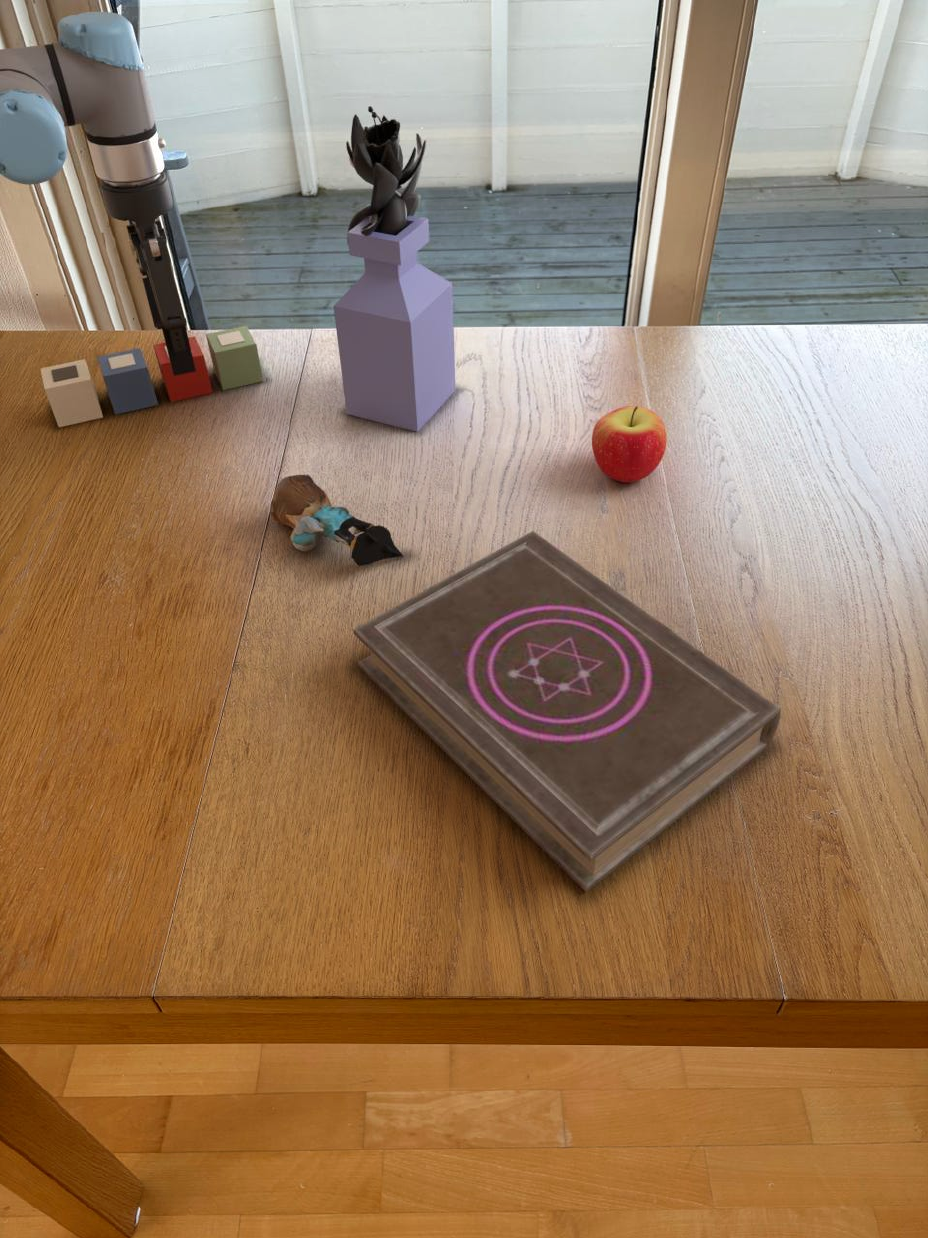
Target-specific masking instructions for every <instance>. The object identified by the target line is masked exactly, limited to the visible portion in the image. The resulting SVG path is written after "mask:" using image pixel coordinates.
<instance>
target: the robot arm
mask: <svg viewBox="0 0 928 1238" xmlns="http://www.w3.org/2000/svg"><path fill="white" fill-rule="evenodd" d="M57 33H58V36H57V39H58V41H54V42H51V43H49V44H42V45H41V44H40V45H30V46H22V47H21V46H20V47H11V48H1V49H0V175H1V176H2V177H4V178H5V179H7V180H9V181H12V182H14V183H16V184H17V183H18V184H21V185H30V186H31V185H39V184H44V183H46V182H48V181H50V180H52V179H53V178H54V177H55V176H57V175H58V174H59V172H60V171H61V170H62V168H63V166H64V164H65V162H66V160H67V157H68V155H67V154H68V142H67V141H68V140H67V130H66V127H73V126H77V125H83V128H84V132H85V136H86V142H87V146H88V150H89V154H90V157H91V161H92V164H93V169H94V173H95V175H96V176H97V178H99V179H100V181H99V189H100V192H101V196H102V199H103V203H104V207H105V211H106V213H107V215H108V216H110V217H111V218H113V219H115V220H118V221H122V222H128V225H125V227H126V232H127V235H128V238H129V240H130V242H131V245H132V248H133V251H134V252H135V256H136V259H135V261H136V264H137V265H138V267H139V273H140V274H141V275H142V279H141V280H142V283H143V288H144V290H145V296H146V299H147V302H148V307H149V311H150V315H151V319H152V322H153V326H154V328H155V329H156V330H161V331H162V335H163V339H164V343H166V347H167V351H168V355H169V359H170V363H171V367H172V371H173V374H174V376H176V375H181V374H186V373H191V372H196V369H195V365H194V360H193V356H192V352H191V347H190V343H189V339H188V338H189V335H188V331H187V324H188V321H187V317H185V314H184V311H183V307H182V302H181V298H180V295H179V292H178V289H177V285H176V281H175V278H174V273H173V269H172V260H171V256H170V252H169V249H168V245H167V244H168V238H167V234H166V231H165V228H164V227H163V226H162V224H161V223H162V222H161V220H157V219H158V218H159V217H161V216H165V215H167V214H168V213H169V212H170V211H171V209H173V205H174V201H173V196H172V192H171V187H170V181H169V177H168V175H167V174H166V173H165V172H164V169H165V162H164V157H163V153H162V151H161V149H164V148H165V147H166V145H167V144H166V141H165V140H164V138H161V137H160V138H159V136H158V132H157V130H158V129H157V124H156V120H155V116H154V110H153V106H152V101H151V96H150V91H149V86H148V80H147V77H146V71H145V64H144V63H143V60H142V56H141V52H140V48H139V45H138V42H137V38H136V33H135V30H134V27H133V24H132V23H131V22H130V20H128V19H127V18H126V17H125V16H123V15H122V14H119V13H117V12H112V11H111V12H110V11H87V12H80V13H78V14H71V15H67V16H65V17H63V18H61V19H60V20H59V21H58V23H57Z"/></svg>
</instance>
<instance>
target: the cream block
mask: <svg viewBox="0 0 928 1238" xmlns="http://www.w3.org/2000/svg"><path fill="white" fill-rule="evenodd" d="M40 373H41V378H42V384H43V390H44V392H45V395H46V398H47V400H48V403H49V406H50V408H51V410H52V413H53V416H54V419H55V421H56V424H57V427H58V428H63V427H68V426H72V425H76V424H81V423H84V422H89V421H94V420H99V419H102V418H104V415H103V412H102V408H101V404H100V399H99V396H98V393H97V391H96V388H95V385H94V382H93V379H92V376H91V373H90V370H89V367H88V364H87V361H86V359H80V360H79V359H78V360H74V361H69V362H64V363H60V364H56V365H51V366H46V367H45V366H44V367H41V368H40Z"/></svg>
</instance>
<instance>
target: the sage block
mask: <svg viewBox="0 0 928 1238" xmlns="http://www.w3.org/2000/svg"><path fill="white" fill-rule="evenodd" d="M205 336H206V341H207V346H208V349H209V353H210V354H209V355H210V359H211V364H212V367H213V372H214V374H215V377H216V378H217V381H218V383H219V384H220V387H221V389H222V391H226V390H231V389H235V388H239V387H244V386H248V385H252V384H258V383H261V382H264V378H263V377H264V376H263V371H262V365H261V361H260V356H259V350H258V346H257V342H256V341H255V339H254V337H253V335H252V333H251V332H250V330H249V328H248V326H247V325H243V326H238V327H234V328H229V329H223V330H219V331H214V332H210V333H206V334H205Z"/></svg>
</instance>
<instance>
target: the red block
mask: <svg viewBox="0 0 928 1238" xmlns="http://www.w3.org/2000/svg"><path fill="white" fill-rule="evenodd" d="M188 339H189V343H190V347H191V352H192V356H193V360H194V365H195V369H196V372H191V373H186V374H181V375H176V376H174V374H173V371H172V367H171V363H170V359H169V355H168V351H167V347H166V343H165V342H161V343H155V344H153V345H152V346H153V349H154V353H155V357H156V360H157V365H158V368H159V372H160V375H161V378H162V382H163V385H164V388H165V391H166V393H167V395H168V399H169V401H170V403H174V402H178V401H182V400H186V399H192V398H196V397H200V396H205V395H209V394H213V388H212V384H211V380H210V379H211V378H210V374H209V372H208V366H207V363H206V359H205V355H204V353H203V352H204V351H203V350H202V348H201V345H200V343H199V341H198V339H197V337H196V336H195V335H194V336H190V337H189V336H188Z"/></svg>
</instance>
